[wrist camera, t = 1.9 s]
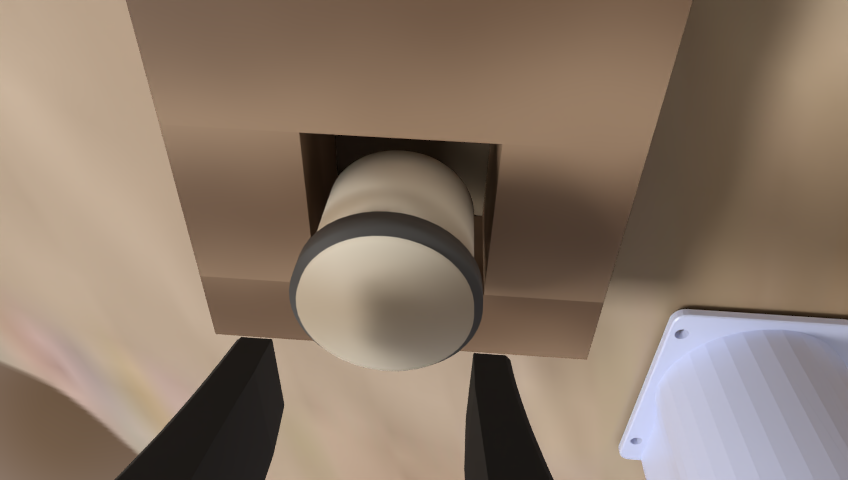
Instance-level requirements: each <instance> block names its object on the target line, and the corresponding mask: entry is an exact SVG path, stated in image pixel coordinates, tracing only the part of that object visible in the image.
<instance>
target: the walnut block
mask: <svg viewBox="0 0 848 480" xmlns="http://www.w3.org/2000/svg"><path fill="white" fill-rule="evenodd" d="M126 2H127V6H128V9H129V13H130V17H131V21H132V24H133V28H134V32H135V36H136V39H137V43H138V47H139V50H140V54H141V58H142V62H143V65H144V69H145V73H146V76H147V80H148V84H149V88H150V91H151V95H152V99H153V102H154V106H155V110H156V114H157V117H158V121H159V125H160V128H161V132H162V136H163V140H164V143H165V147H166V151H167V155H168V158H169V162H170V166H171V169H172V173H173V177H174V181H175V184H176V188H177V192H178V195H179V199H180V203H181V207H182V210H183V214H184V218H185V221H186V225H187V229H188V233H189V236H190V240H191V244H192V247H193V251H194V255H195V259H196V262H197V266H198V270H199V274H200V277H201V281H202V285H203V288H204V292H205V296H206V300H207V303H208V307H209V311H210V314H211V318H212V322H213V326H214V329H215V333H216V334H224V335H238V336H253V337H267V338H282V339H296V340H311V341H313V340H312V339H311V338H310V337H309V336H308V335H307V334H306V332H305V331H304V330H303V329H302V327H301V326H300V324H299V323H298V321H297V319H296V318H295V315H294V313H293V311H292V308H291V304H290V299H289V286H290V280H291V277H292V273H293V271H294V268H295V265H296V262H297V260H298V257H299V254H300V253H301V251H302V249H303V247H304V245H305V244H306V243H307V241H308V240H309V239H310V238H311V237H312V236H313V235H314V234H315V233H316V232H317V230H318V227H319V224H320V221H321V218H322V215H323V212H324V209H325V207H326V204H327V201H328V198H329V195H330V192H331V189H332V187H333V185H334V183H335V181H336V179H337V178H338V175H337V161H336V147H335V135H352V136H370V137H387V138H405V139H422V140H440V141H457V142H475V143H490V151H489V160H488V170H487V179H486V188H485V197H484V206H483V215H482V216H474V259H475V261H476V263H477V265H478V267H479V270H480V273H481V276H482V283H483V314H482V319H481V323H480V325H479V327H478V330H477V331H476V333H475V335H474V336H473V338H472V339H471V340H470V341H469V342H468V344H467V345H466V346H464V347H463V348H462V349H461V350H460V351H469V352H484V353H498V354H513V355H527V356H542V357H556V358H571V359H585V360H587V358H588V354H589V351H590V347H591V344H592V341H593V337H594V334H595V330H596V327H597V324H598V320H599V317H600V314H601V310H602V307H603V303H604V300H605V297H606V293H607V290H608V286H609V283H610V280H611V276H612V273H613V269H614V266H615V263H616V259H617V256H618V253H619V249H620V246H621V242H622V239H623V236H624V232H625V229H626V225H627V222H628V219H629V215H630V212H631V208H632V205H633V202H634V198H635V195H636V192H637V188H638V185H639V181H640V178H641V175H642V171H643V168H644V164H645V161H646V158H647V154H648V151H649V147H650V144H651V141H652V137H653V134H654V131H655V127H656V124H657V120H658V117H659V114H660V110H661V107H662V103H663V100H664V97H665V93H666V90H667V86H668V83H669V80H670V76H671V73H672V70H673V66H674V63H675V59H676V56H677V53H678V49H679V46H680V42H681V39H682V36H683V32H684V29H685V25H686V22H687V19H688V15H689V12H690V9H691V5H692V2H693V0H126Z"/></svg>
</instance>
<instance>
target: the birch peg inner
mask: <svg viewBox="0 0 848 480" xmlns="http://www.w3.org/2000/svg"><path fill="white" fill-rule="evenodd" d="M289 299H290V304H291V308H292V311H293V313H294V315H295V318H296V319H297V321H298V323H299V324H300V326H301V327H302V329H303V330H304V331H305V332H306V334H307V335H308V336H309V337H310V338H311V339H312V340H313V341H314V342H316V343H317V344H318V345H320V346H321V347H322V348H324V349H325V350H326V351H328V352H329V353H331V354H333V355H334V356H336V357H338V358H340V359H342V360H344V361H346V362H349V363H352V364H354V365H357V366H361V367H364V368H369V369H374V370H382V371H407V370H413V369H419V368H423V367H427V366H429V365H433V364H435V363H438V362H441V361H443V360H445V359H447V358H449V357H451V356H452V355H454V354H456V353H457V352H459V351H460V350H461V349H462V348H463V347H464V346H466V345H467V344H468V342H469V341H470V340H471V339H472V338H473V336H474V335H475V333H476V331H477V330H478V327H479V325H480V323H481V319H482V314H483V283H482V276H481V273H480V270H479V267H478V265H477V263H476V261H475V259H474V208H473V202H472V199H471V196H470V193H469V191H468V189H467V187H466V186H465V184H464V183H463V181H462V180H461V179H460V178H459V177H458V175H457V174H456V173H455V172H453V171H452V170H451V169H450V168H449V167H447V166H446V165H444V164H443V163H441V162H440V161H438V160H436V159H434V158H432V157H429V156H426V155H424V154H420V153H416V152H412V151H403V150H389V151H381V152H377V153H373V154H370V155H367V156H364V157H362V158H360V159H358V160H357V161H355V162H353V163H352V164H351V165H349V166H348V167H347V168H346V169H345V170H344V171H343V172H342V173H341V174H340V175H339V176H338V178H337V179H336V181H335V183H334V185H333V187H332V189H331V192H330V195H329V198H328V201H327V204H326V207H325V209H324V212H323V215H322V218H321V221H320V224H319V227H318V230H317V232H316V233H315V234H314V235H313V236H312V237H311V238H310V239H309V240H308V241H307V243H306V244H305V245H304V247H303V249H302V251H301V253H300V254H299V257H298V260H297V262H296V265H295V268H294V271H293V273H292V277H291V280H290V286H289Z"/></svg>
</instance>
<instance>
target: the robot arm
mask: <svg viewBox="0 0 848 480" xmlns="http://www.w3.org/2000/svg"><path fill="white" fill-rule="evenodd" d="M682 329H684V330H682ZM678 330H682V331H678ZM283 409H284V401H283V395H282V390H281V385H280V379H279V374H278V368H277V363H276V358H275V352H274V347H273V342H272V339H261V338H247V337H241V338H240V339H238V340H237V341H236V342H235V343H234V345H233V346H232V347H231V349H230V350H229V351H228V352H227V354H226V355H225V356H224V357H223V359H222V360H221V361H220V362H219V364H218V365H217V366H216V367H215V369H214V370H213V371H212V372H211V374H210V375H209V376H208V377H207V379H206V380H205V381H204V382H203V383H202V385H201V386H200V387H199V388H198V389H197V391H196V392H195V393H194V394H193V395H192V397H191V398H190V399H189V400H188V401H187V402H186V403H185V405H184V406H183V407H182V408H181V409H180V410H179V411H178V413H177V414H176V415H175V416H174V417H173V418H172V419H171V421H170V422H169V423H168V424H167V425H166V426H165V427H164V429H163V430H162V431H161V432H160V433H159V434H158V435H157V436H156V437H155V438H154V439H153V440H152V441H151V442H150V444H149V445H148V446H147V447H146V448H145V449H144V450H143V451H142V452H141V453H140V454H139V455H138V456H137V457H136V458H135V459H134V460H133V461H132V462H131V464H129V466H127V468H126V469H125V470H124V471H123V472H122V473H121V474H120V475H119V476H118V477H117V478H116V479H115V480H265V478H266V475H267V472H268V469H269V466H270V463H271V460H272V457H273V454H274V449H275V445H276V441H277V436H278V432H279V427H280V423H281V418H282V413H283ZM619 453H620V455H621V456H622V457H624V458H626V459H635V460H641V461H642V465H643V469H644V473H645V477H646V480H848V320H846V319H831V318H816V317H801V316H785V315H770V314H755V313H740V312H725V311H710V310H694V309H681V310H678V311H676V312H674V313H673V314H672V315H671V317H670V318H669V321H668V323H667V326H666V328H665V331H664V334H663V336H662V339H661V341H660V344H659V346H658V349H657V351H656V354H655V356H654V359H653V361H652V364H651V366H650V369H649V371H648V374H647V376H646V379H645V381H644V384H643V386H642V389H641V391H640V394H639V396H638V399H637V401H636V404H635V406H634V409H633V411H632V414H631V416H630V419H629V422H628V424H627V427H626V429H625V432H624V434H623V437H622V439H621V442H620V444H619ZM464 471H465V480H553V478H552V475H551V473H550V471H549V469H548V467H547V464H546V462H545V459H544V457H543V455H542V452H541V450H540V448H539V445H538V443H537V441H536V438H535V436H534V433H533V431H532V428H531V426H530V423H529V420H528V418H527V415H526V412H525V409H524V406H523V404H522V401H521V398H520V394H519V391H518V388H517V385H516V381H515V378H514V374H513V370H512V366H511V361H510V359H509V358H508V357H507V356H505V355H492V354H478V353H474V354H473V362H472V371H471V379H470V388H469V396H468V404H467V413H466V430H465V465H464Z"/></svg>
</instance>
